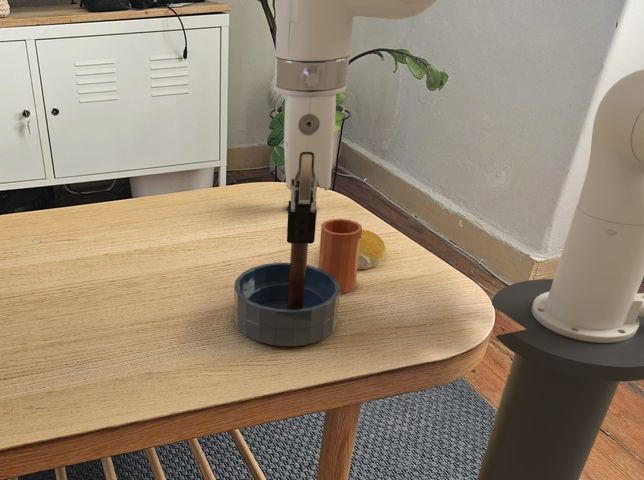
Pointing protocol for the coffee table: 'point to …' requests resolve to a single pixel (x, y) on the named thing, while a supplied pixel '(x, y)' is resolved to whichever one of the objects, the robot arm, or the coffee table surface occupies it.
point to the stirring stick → (297, 275)
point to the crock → (340, 251)
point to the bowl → (285, 305)
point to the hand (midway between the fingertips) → (300, 236)
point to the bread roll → (370, 250)
